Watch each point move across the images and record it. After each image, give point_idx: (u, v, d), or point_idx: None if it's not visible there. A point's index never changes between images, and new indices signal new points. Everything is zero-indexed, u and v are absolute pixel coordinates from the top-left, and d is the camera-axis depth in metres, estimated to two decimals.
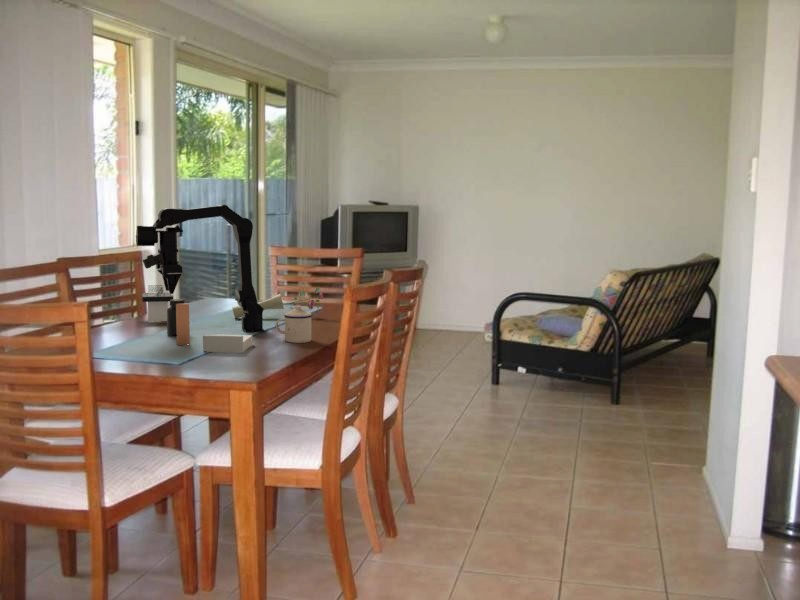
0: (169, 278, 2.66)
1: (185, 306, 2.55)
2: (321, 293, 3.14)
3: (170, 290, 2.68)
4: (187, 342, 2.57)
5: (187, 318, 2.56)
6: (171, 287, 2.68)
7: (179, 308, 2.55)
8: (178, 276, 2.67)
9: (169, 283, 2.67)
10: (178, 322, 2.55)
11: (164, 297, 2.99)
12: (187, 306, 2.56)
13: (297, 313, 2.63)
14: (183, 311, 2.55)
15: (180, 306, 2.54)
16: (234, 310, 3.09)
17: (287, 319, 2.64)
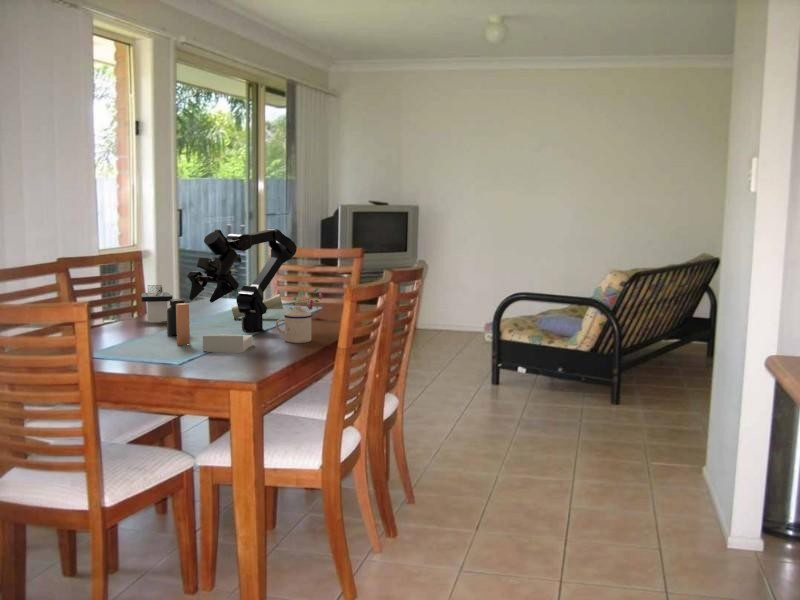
0: (220, 288, 2.62)
1: (185, 306, 2.55)
2: (320, 293, 3.13)
3: (212, 298, 2.61)
4: (187, 342, 2.57)
5: (187, 318, 2.56)
6: (215, 296, 2.62)
7: (179, 308, 2.55)
8: (227, 292, 2.64)
9: (217, 292, 2.62)
10: (178, 322, 2.55)
11: (163, 297, 2.99)
12: (187, 306, 2.56)
13: (297, 313, 2.63)
14: (183, 311, 2.55)
15: (180, 306, 2.54)
16: (233, 310, 3.09)
17: (287, 319, 2.64)
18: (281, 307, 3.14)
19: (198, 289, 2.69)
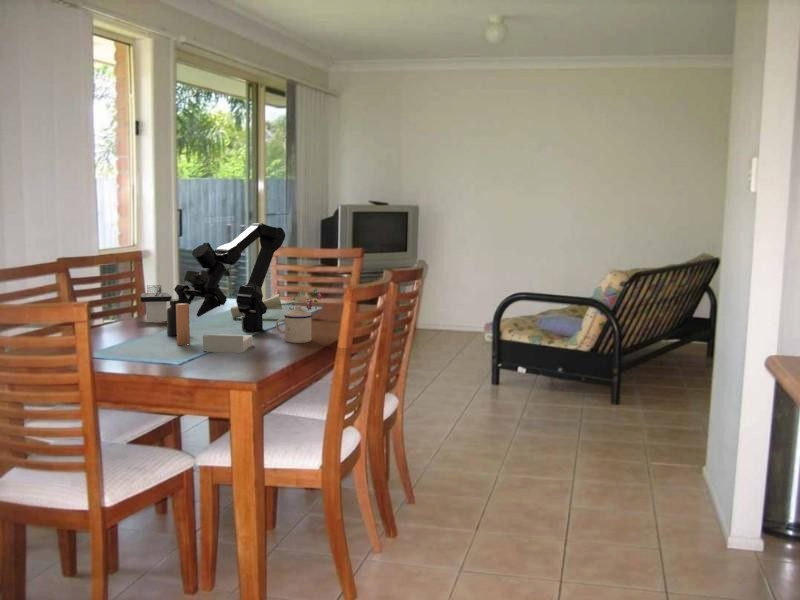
0: (208, 302, 2.57)
1: (185, 306, 2.55)
2: (319, 294, 3.13)
3: (200, 312, 2.56)
4: (187, 342, 2.57)
5: (187, 318, 2.56)
6: (202, 310, 2.57)
7: (179, 308, 2.55)
8: (214, 306, 2.59)
9: (204, 306, 2.57)
10: (178, 322, 2.55)
11: (162, 297, 2.98)
12: (187, 306, 2.56)
13: (297, 313, 2.63)
14: (183, 311, 2.55)
15: (180, 306, 2.54)
16: (232, 310, 3.09)
17: (287, 319, 2.64)
18: (280, 307, 3.13)
19: (185, 302, 2.64)
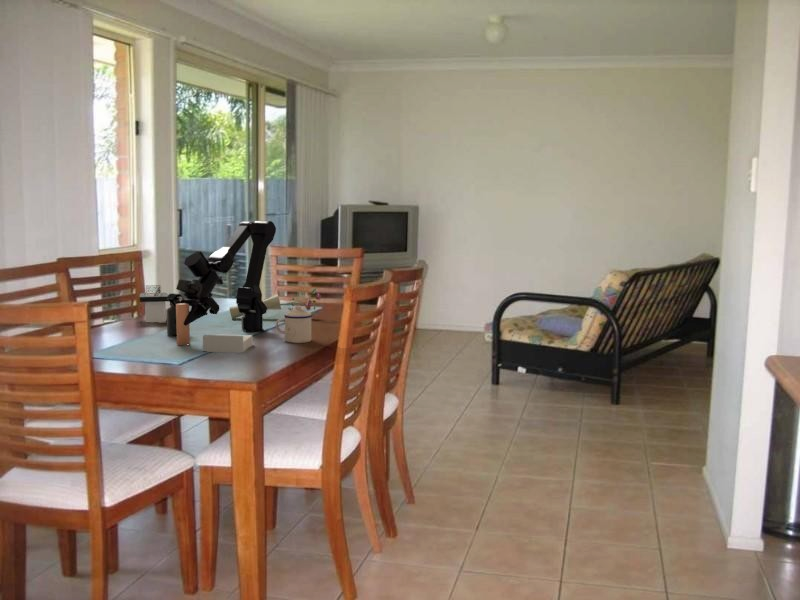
0: (195, 310, 2.56)
1: (185, 306, 2.55)
2: (318, 294, 3.12)
3: (186, 321, 2.55)
4: (187, 342, 2.57)
5: None
6: (189, 319, 2.55)
7: (179, 308, 2.55)
8: (202, 314, 2.58)
9: (191, 314, 2.55)
10: (178, 322, 2.55)
11: (161, 297, 2.98)
12: (187, 306, 2.56)
13: (297, 313, 2.63)
14: (183, 311, 2.55)
15: (180, 306, 2.54)
16: (231, 310, 3.09)
17: (287, 319, 2.64)
18: (279, 307, 3.13)
19: None
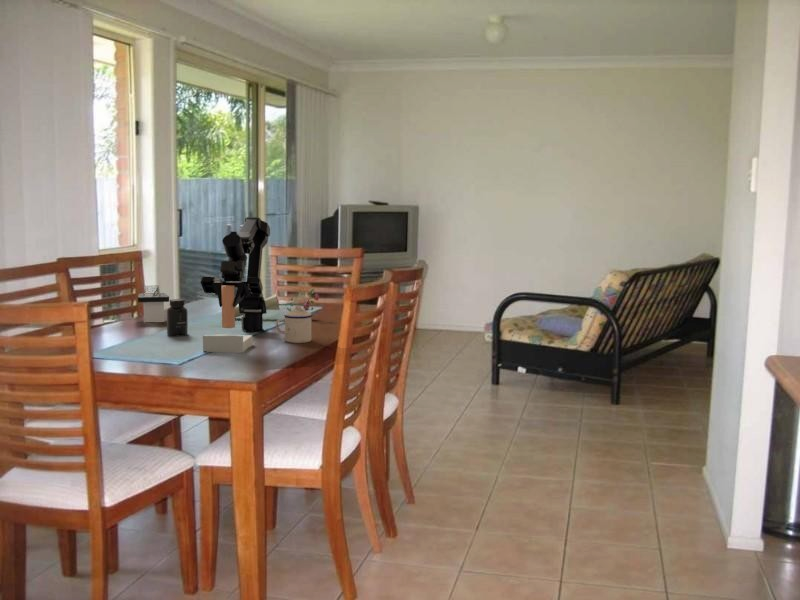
0: None
1: (233, 287, 2.51)
2: (316, 294, 3.10)
3: (236, 302, 2.51)
4: (234, 324, 2.53)
5: None
6: (237, 300, 2.52)
7: (228, 290, 2.50)
8: (244, 295, 2.56)
9: (239, 295, 2.52)
10: (226, 304, 2.50)
11: (160, 297, 2.97)
12: (234, 287, 2.52)
13: (297, 313, 2.63)
14: (232, 292, 2.50)
15: (229, 288, 2.50)
16: None
17: (287, 319, 2.64)
18: (277, 308, 3.12)
19: None
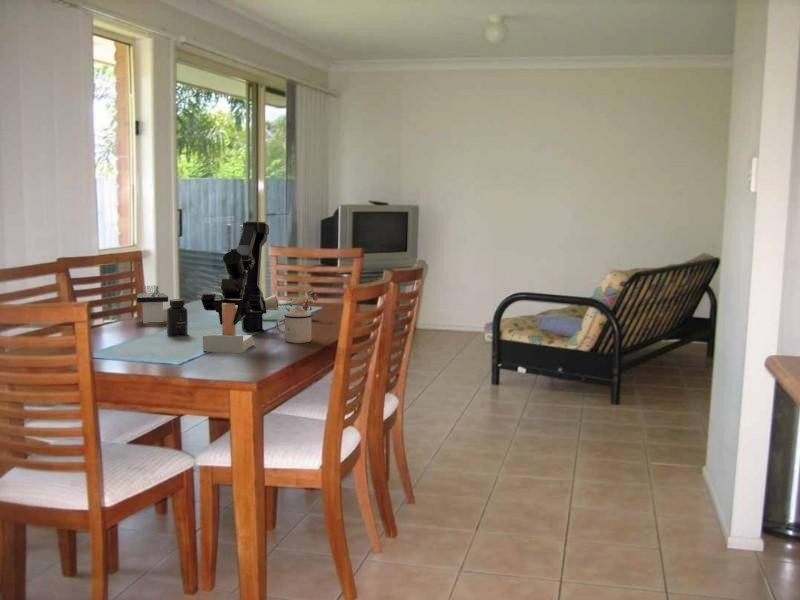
0: None
1: (234, 305, 2.51)
2: (315, 295, 3.09)
3: (236, 320, 2.52)
4: None
5: None
6: (237, 318, 2.53)
7: (228, 308, 2.50)
8: (245, 313, 2.57)
9: (239, 313, 2.53)
10: (227, 322, 2.51)
11: (159, 298, 2.97)
12: (234, 305, 2.52)
13: (297, 313, 2.63)
14: (232, 310, 2.51)
15: (229, 305, 2.50)
16: None
17: (287, 319, 2.64)
18: (276, 308, 3.12)
19: None
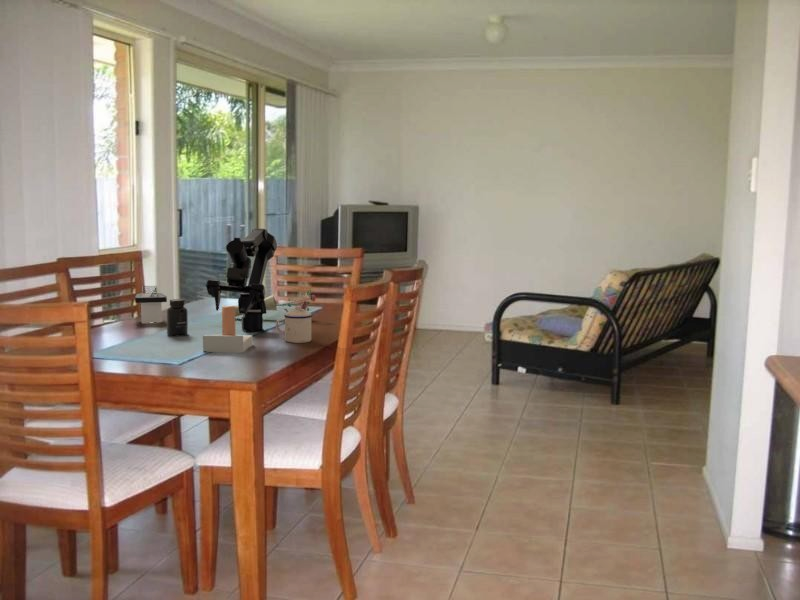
0: None
1: (234, 308, 2.52)
2: (313, 295, 3.08)
3: (247, 309, 2.61)
4: None
5: None
6: (248, 307, 2.62)
7: (228, 311, 2.50)
8: (255, 301, 2.65)
9: (250, 302, 2.62)
10: (227, 325, 2.51)
11: (157, 298, 2.96)
12: (234, 308, 2.52)
13: (297, 313, 2.63)
14: (232, 313, 2.51)
15: (229, 309, 2.50)
16: None
17: (287, 319, 2.64)
18: (274, 308, 3.11)
19: (219, 298, 2.64)
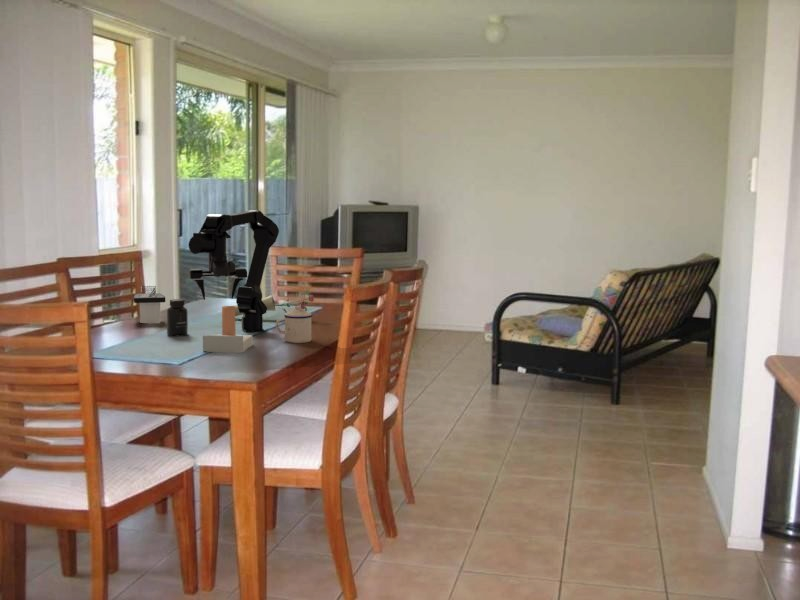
0: None
1: (234, 308, 2.52)
2: (311, 295, 3.07)
3: None
4: None
5: None
6: None
7: (228, 311, 2.50)
8: None
9: None
10: (227, 325, 2.51)
11: (156, 298, 2.96)
12: (234, 308, 2.52)
13: (297, 313, 2.63)
14: (232, 313, 2.51)
15: (229, 309, 2.50)
16: None
17: (287, 319, 2.64)
18: (273, 308, 3.10)
19: None
